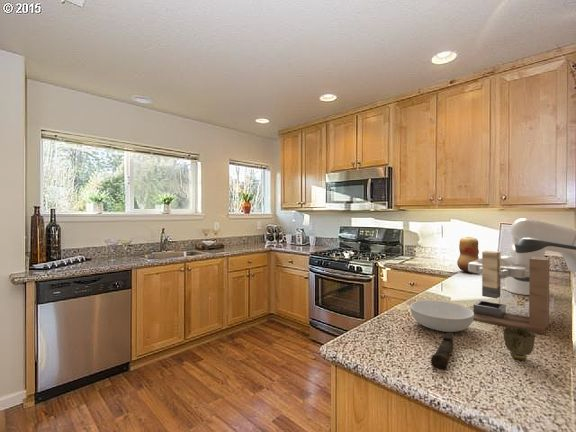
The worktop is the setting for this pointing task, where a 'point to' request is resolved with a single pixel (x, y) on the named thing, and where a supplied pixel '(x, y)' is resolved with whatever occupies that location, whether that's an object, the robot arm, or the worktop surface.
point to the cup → (519, 342)
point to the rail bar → (491, 274)
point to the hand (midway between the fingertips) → (490, 272)
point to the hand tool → (443, 352)
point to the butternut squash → (467, 252)
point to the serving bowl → (442, 315)
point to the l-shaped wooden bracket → (537, 303)
